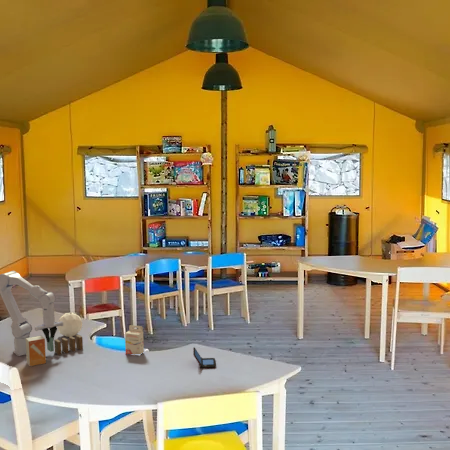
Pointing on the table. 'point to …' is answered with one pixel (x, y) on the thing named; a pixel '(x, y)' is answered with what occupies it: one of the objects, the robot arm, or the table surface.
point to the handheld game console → (204, 360)
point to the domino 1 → (50, 344)
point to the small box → (35, 350)
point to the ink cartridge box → (134, 340)
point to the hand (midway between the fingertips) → (50, 341)
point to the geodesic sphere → (70, 324)
